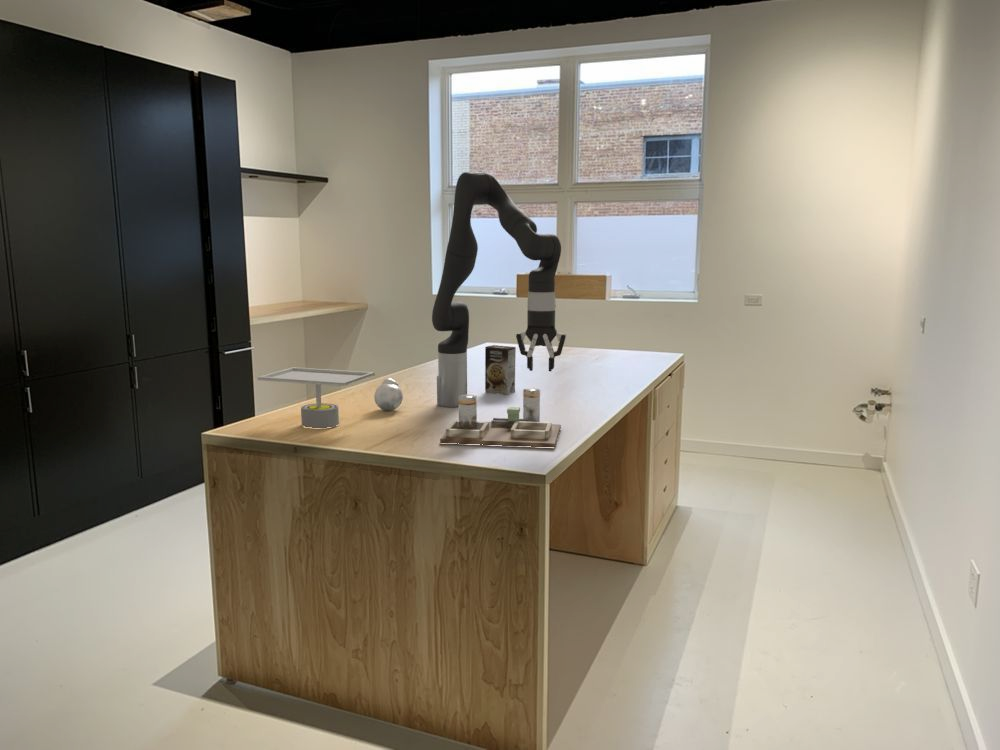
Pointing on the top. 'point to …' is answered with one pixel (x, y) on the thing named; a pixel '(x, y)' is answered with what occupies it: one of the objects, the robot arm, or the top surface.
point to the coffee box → (500, 369)
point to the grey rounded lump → (388, 395)
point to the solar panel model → (318, 391)
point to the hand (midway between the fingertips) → (540, 370)
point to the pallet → (504, 433)
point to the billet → (531, 404)
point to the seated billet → (468, 412)
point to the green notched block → (513, 413)
